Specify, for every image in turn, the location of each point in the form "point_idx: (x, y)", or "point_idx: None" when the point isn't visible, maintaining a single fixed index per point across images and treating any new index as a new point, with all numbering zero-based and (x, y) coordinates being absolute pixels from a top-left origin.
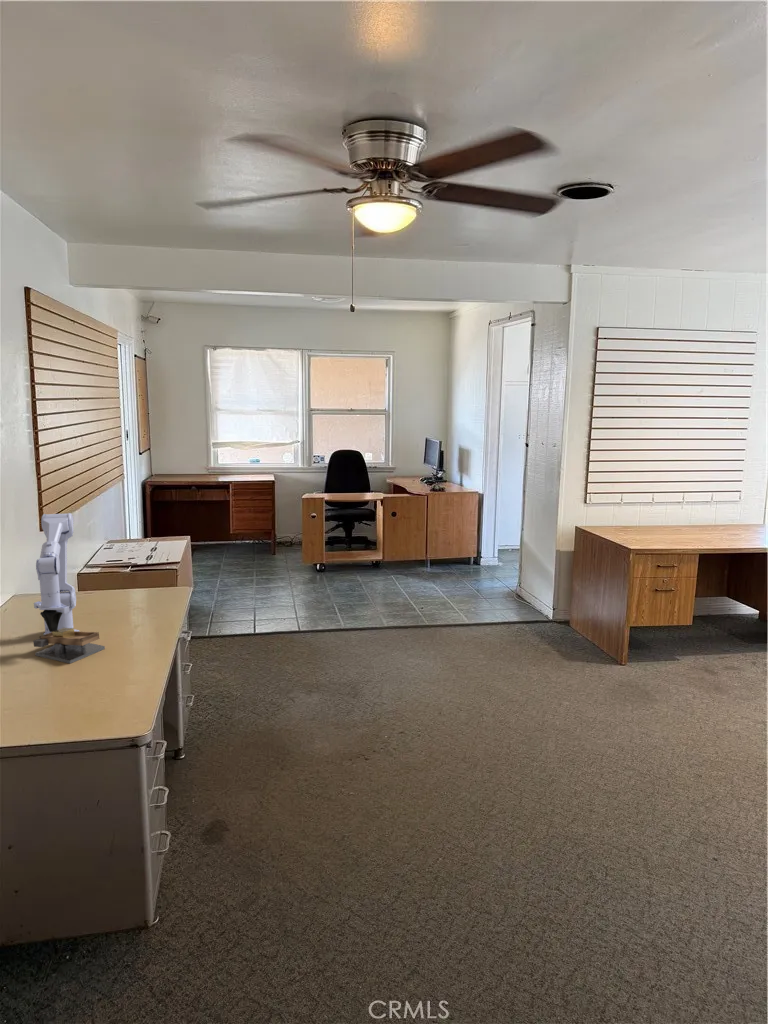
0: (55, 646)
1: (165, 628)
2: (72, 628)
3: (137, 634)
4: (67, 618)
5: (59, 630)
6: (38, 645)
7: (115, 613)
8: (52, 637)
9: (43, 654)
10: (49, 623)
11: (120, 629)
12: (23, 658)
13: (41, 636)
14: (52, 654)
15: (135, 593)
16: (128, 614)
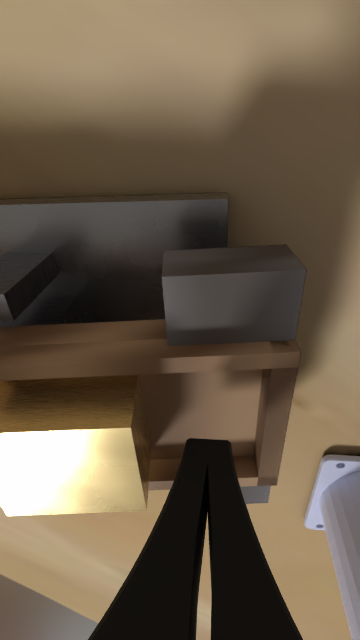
0: (7, 282)
1: (32, 577)
2: (13, 511)
3: (52, 539)
4: (351, 609)
5: (90, 464)
6: (217, 252)
7: (320, 628)
8: (85, 361)
9: (125, 204)
10: (181, 538)
11: None
12: (292, 96)
13: (278, 363)
14: (62, 238)
15: None
16: None
